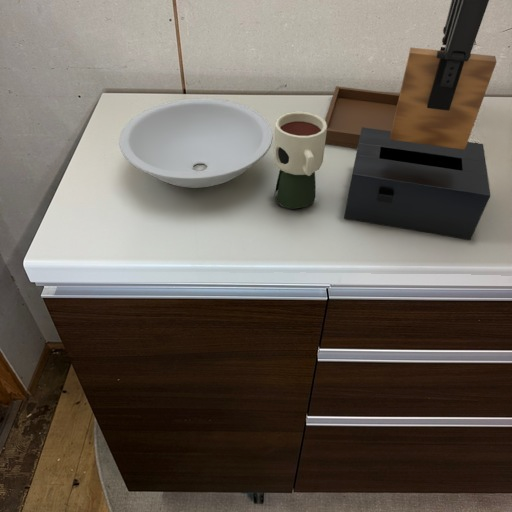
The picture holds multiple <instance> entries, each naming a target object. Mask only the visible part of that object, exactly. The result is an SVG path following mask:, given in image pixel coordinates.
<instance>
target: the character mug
mask: <svg viewBox="0 0 512 512" xmlns="http://www.w3.org/2000/svg"><path fill="white" fill-rule="evenodd" d="M326 133H327V125H326V121H325V118H323V117H322V116H320V115H317V114H315V113H312V112H307V111H292V112H287V113H284V114H282V115H281V116H279V117H277V119H276V120H275V124H274V137H273V138H274V140H273V141H274V142H273V143H274V145H273V163H274V166H275V168H277V169H278V170H279V171H278V176H277V180H276V186H275V188H274V189H275V190H274V197H276V203H277V204H279V205H280V206H281V207H283V208H287V209H290V210H294V209H301V208H302V209H303V208H305V207H308V206H310V205H311V204H313V203H314V202H315V199H316V192H317V191H316V186H317V185H316V172H317V171H318V170H320V169H321V167H322V165H323V162H324V154H325V147H326V144H325V140H326Z"/></svg>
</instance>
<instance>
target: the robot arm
mask: <svg viewBox="0 0 512 512" xmlns="http://www.w3.org/2000/svg"><path fill="white" fill-rule="evenodd" d="M489 2H490V0H451V1H450V5H449V10H448V13H447V16H446V17H447V18H446V21H445V25H444V26H443V29H442V34H443V35H444V36H443V37H442V39H441V43H442V46H441V47H440V49H439V50H440V51H438V52H437V57H436V58H440V61H439V65H438V69H437V72H436V76H435V79H434V83H433V87H432V90H431V94H430V97H429V101H428V105H427V108H432V109H440V110H448V111H449V109H450V106H451V103H452V100H453V97H454V93H455V90H456V87H457V84H458V81H459V78H460V74H461V71H462V68H463V65H464V62H465V61H466V62H467V61H468V60H469V58H470V56H471V54H472V51H473V48H474V45H475V42H476V39H477V36H478V34H479V30H480V28H481V24H482V22H483V20H484V16H485V13H486V11H487V9H488V5H489ZM441 51H443V52H441Z"/></svg>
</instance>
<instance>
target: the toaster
mask: <svg viewBox="0 0 512 512" xmlns="http://www.w3.org/2000/svg"><path fill="white" fill-rule="evenodd" d="M390 135H391V131H386V130H378V129H371V128H364V127H362V129H361V134H360V138H359V143H358V148H356V154H355V158H354V162H353V168H352V172H351V178H350V184H349V190H348V194H347V200H346V205H345V211H344V216H343V219H344V220H345V219H346V220H351V221H357V222H363V223H370V224H373V225H375V224H376V225H379V226H381V225H382V226H388V227H392V228H398V229H404V230H409V231H410V230H411V231H415V232H421V233H427V234H431V235H432V234H433V235H440V236H445V237H450V238H455V239H456V238H457V239H460V240H461V239H462V240H467V241H471V240H472V238H473V236H474V233H475V231H476V229H477V227H478V224H479V222H480V220H481V218H482V216H483V213H484V211H485V208H486V207H487V204H488V202H489V200H490V197H491V196H492V195H491V189H490V181H489V176H488V168H487V162H486V154H485V148H484V147H485V146H484V144H483V143H480V142H473V141H468V142H467V145H466V148H465V150H462V149H455V148H448V147H441V146H433V145H426V144H419V143H412V142H404V141H397V140H390Z"/></svg>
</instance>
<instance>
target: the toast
mask: <svg viewBox="0 0 512 512" xmlns="http://www.w3.org/2000/svg"><path fill="white" fill-rule="evenodd" d="M438 51H440V49H430V48H420V47H410V48H409V52H408V56H407V61H406V64H405V69H404V74H403V78H402V81H401V87H400V90H399V94H400V95H399V99H398V104H397V108H396V112H395V117H394V121H393V125H392V130H391V135H390V140H397V141H404V142H412V143H419V144H426V145H433V146H441V147H448V148H455V149H462V150H465V148H466V145H467V142H469V139H470V136H471V133H472V132H473V128H474V126H475V122H476V120H477V117H478V114H479V112H480V110H481V106H482V104H483V101H484V98H485V95H486V92H487V89H488V87H489V84H490V82H491V79H492V76H493V74H494V71H495V67H496V65H497V58H496V56H495V55H489V54H479V53H471V56H470V58H469V60H468V61H467V62H466V61H465V62H464V65H463V68H462V71H461V74H460V78H459V81H458V84H457V87H456V90H455V93H454V97H453V100H452V103H451V106H450V109H449V111H448V110H440V109H432V108H427V105H428V101H429V97H430V94H431V90H432V87H433V83H434V79H435V76H436V72H437V69H438V65H439V61H440V58H436V57H437V52H438ZM441 52H443V51H441Z"/></svg>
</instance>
